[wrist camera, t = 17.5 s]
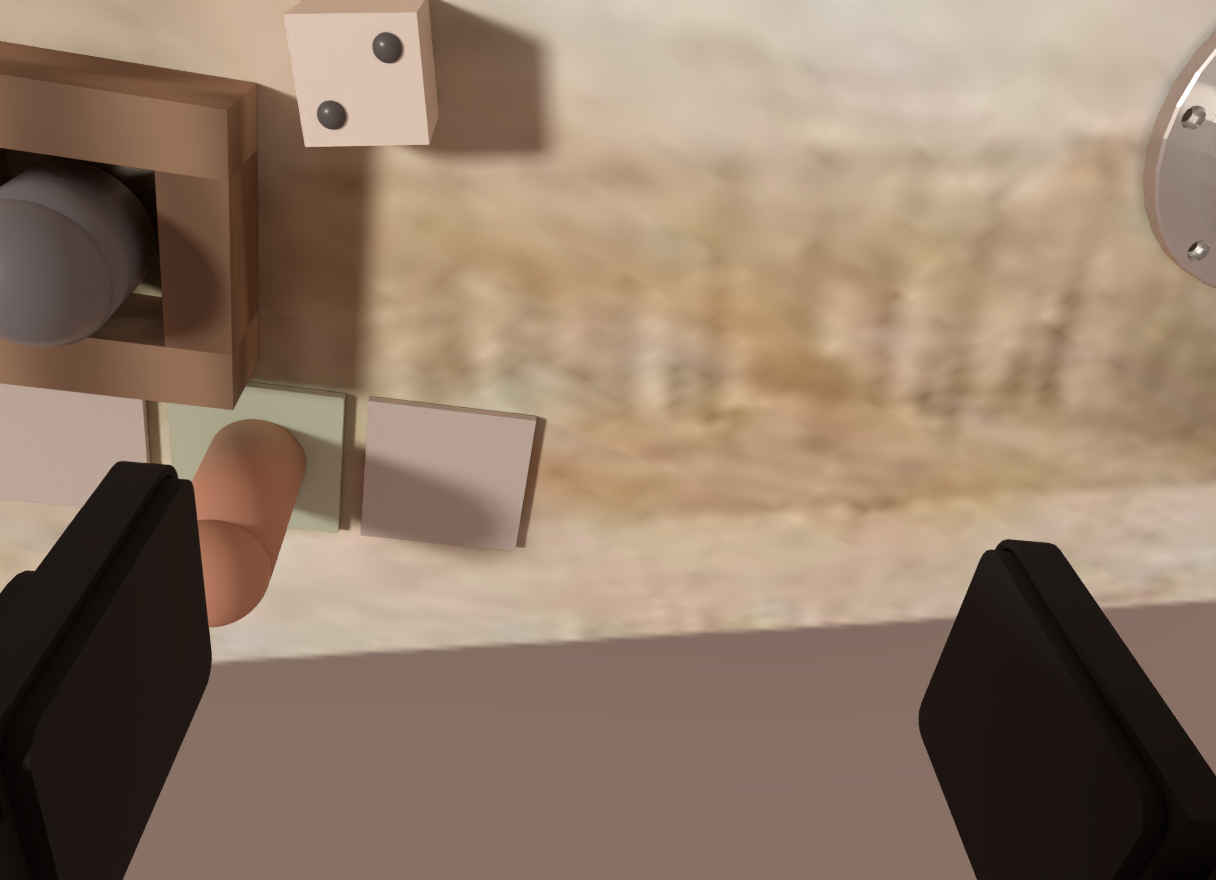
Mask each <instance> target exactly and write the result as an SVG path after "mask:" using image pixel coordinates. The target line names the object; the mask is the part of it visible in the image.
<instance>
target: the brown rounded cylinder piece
mask: <svg viewBox="0 0 1216 880" xmlns="http://www.w3.org/2000/svg"><path fill="white" fill-rule="evenodd" d="M306 466H307V464H306V456H305V452H304V450H303V448H302V446H301V444H300V443H299V441H298V440H297V439H296V438H295V437H294V436H293V435H292V434H291V433H290V432H289V431H287V430H286V429H284V428H283V427H281V426H279V425H277V424H274V423H272V422H268V421H265V420H259V419H245V420H239V421H236V422H233V423H230V424H228V425H226V426H225V427H223V428H222V429H221V430H220V431H218V433H217V434H216V435H215V436H214V438H213V440H212V442H211V444H210V446H209V448H208V450H207V452H206V454H205V456H204V458H203V460H202V462H201V464H200V466H199V468H198V470H197V472H196V474H195V476H194V478H193V480H192V484H193V487H194V492H195V502H196V511H197V520H198V530H199V539H200V549H201V558H202V567H203V577H204V586H205V596H206V605H207V615H208V624H209V627H219V626H224V625H228V624H230V623H233V622H235V621H237V620H239V619H241V618H243V617H244V616H246V615H247V614H248V613H250V612H251V611H252V610H253V609H254V608H255V607H256V606H257V605H258V603H259V602H260V601H261V599H262V598H263V596H264V594H265V592H266V590H267V588H268V585H269V581H270V579H271V576H272V573H273V570H274V567H275V564H276V561H277V558H278V554H279V551H280V548H281V545H282V542H283V539H284V536H285V533H286V530H287V527H288V524H289V521H290V518H291V515H292V512H293V509H294V506H295V502H296V499H297V496H298V493H299V490H300V487H301V484H302V481H303V478H304V475H305V472H306Z"/></svg>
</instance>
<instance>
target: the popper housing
mask: <svg viewBox="0 0 1216 880" xmlns="http://www.w3.org/2000/svg"><path fill="white" fill-rule="evenodd" d="M5 148H6V149H13V150H20V151H26V152H33V153H40V154H47V155H53V156H60V157H67V158H74V159H80V160H87V161H94V162H101V163H107V164H114V165H121V166H128V167H134V168H141V169H148V170H155V185H156V202H157V219H158V236H159V253H160V270H161V287H162V297H155V296H147V295H139V294H132V293H131V294H130V295H129V296H128V297H127V298H126V299H125V301H124V302H123V303H122V304H121V305H120V306H119V307H118V309H117V310H116V311H115V312H114V313H113V314H112V315H111V316H110V318H109V319H108V320H107V321H106V322H105V323H104V324H103V326H102V327H101V328H100V329H98V330H97V331H96V332H95V333H94V334H92V335H91V336H89V337H88V338H86V339H83V340H81V341H79V342H76V343H72V344H68V345H62V346H54V347H31V346H24V345H19V344H15V343H12V342H9V341H6V340H3V339H1V338H0V384H9V385H17V386H26V387H35V388H44V389H52V390H61V391H70V392H78V393H87V394H96V395H104V396H113V397H122V398H130V399H139V400H148V401H157V402H165V403H174V404H183V405H191V406H200V407H209V408H217V409H226V410H234V408H235V406H236V404H237V402H238V400H239V398H240V396H241V394H242V392H243V391H244V389H245V387H246V385H247V383H248V381H249V379H250V377H251V375H252V373H253V371H254V369H255V367H256V366H257V364H258V362H259V348H258V160H257V83H253V82H246V81H240V80H234V79H228V78H222V77H216V76H210V75H204V74H197V73H191V72H185V71H179V70H173V69H167V68H161V67H154V66H148V65H142V64H136V63H130V62H124V61H118V60H111V59H105V58H99V57H93V56H87V55H81V54H75V53H68V52H62V51H56V50H50V49H44V48H38V47H32V46H25V45H19V44H13V43H7V42H1V41H0V187H1V186H2V185H4V184H5V183H7V182H8V181H9V176H8V169H7V162H6V154H5Z"/></svg>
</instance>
